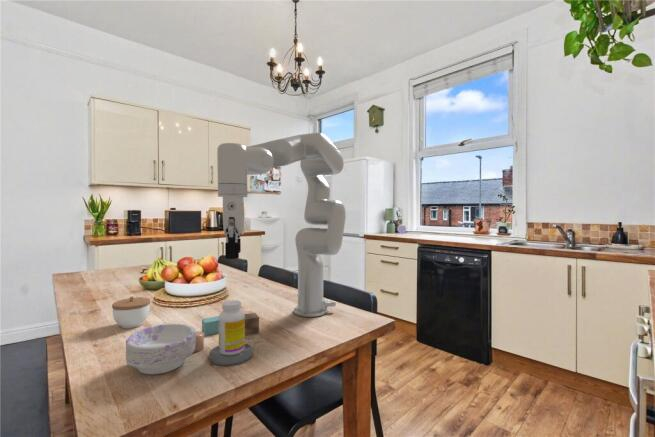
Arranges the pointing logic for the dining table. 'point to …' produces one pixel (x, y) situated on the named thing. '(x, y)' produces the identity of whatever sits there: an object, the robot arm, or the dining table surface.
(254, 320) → the walnut cube
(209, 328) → the teal block
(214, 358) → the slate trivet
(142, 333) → the paper bowls
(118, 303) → the lidded jar
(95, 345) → the dining table surface
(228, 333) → the supplement bottle
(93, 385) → the dining table surface
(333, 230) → the robot arm
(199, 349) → the glossy tan egg
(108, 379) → the dining table surface
